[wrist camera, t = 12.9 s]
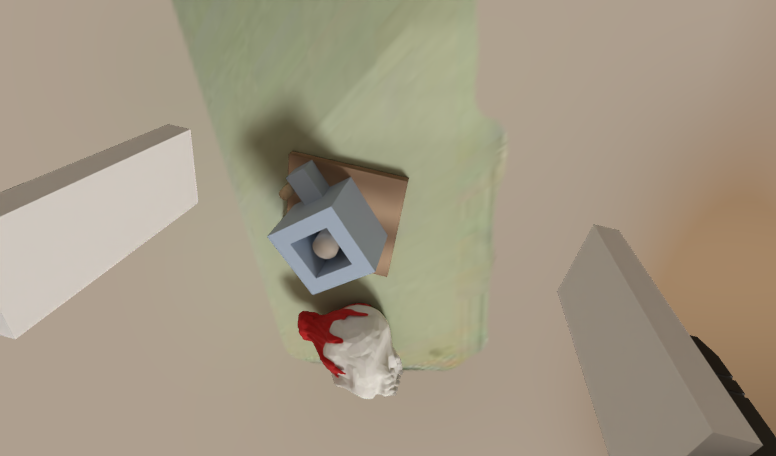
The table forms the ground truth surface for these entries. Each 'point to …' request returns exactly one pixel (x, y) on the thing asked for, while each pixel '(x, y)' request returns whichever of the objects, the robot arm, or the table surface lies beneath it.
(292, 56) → the table surface
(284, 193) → the dowel
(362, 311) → the candle
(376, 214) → the post base
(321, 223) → the square nut with handle
